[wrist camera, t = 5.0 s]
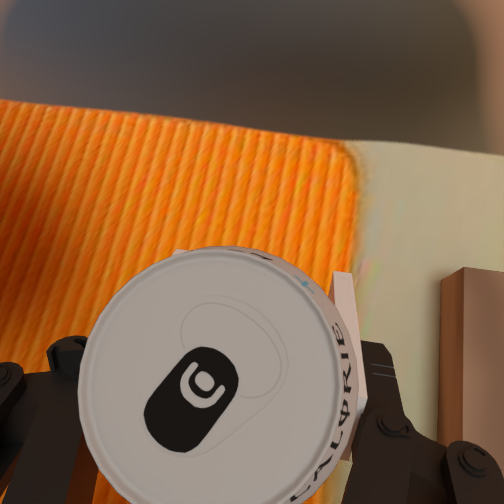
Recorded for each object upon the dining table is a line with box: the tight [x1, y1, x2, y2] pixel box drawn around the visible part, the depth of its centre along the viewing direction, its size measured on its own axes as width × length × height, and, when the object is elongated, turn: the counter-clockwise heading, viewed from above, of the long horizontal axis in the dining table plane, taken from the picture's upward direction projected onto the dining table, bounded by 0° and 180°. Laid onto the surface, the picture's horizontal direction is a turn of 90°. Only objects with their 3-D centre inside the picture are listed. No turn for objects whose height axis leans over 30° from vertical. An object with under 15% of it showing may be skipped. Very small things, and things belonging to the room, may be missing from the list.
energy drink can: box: [77, 246, 359, 504], centre depth 14 cm, size 6×6×15 cm
